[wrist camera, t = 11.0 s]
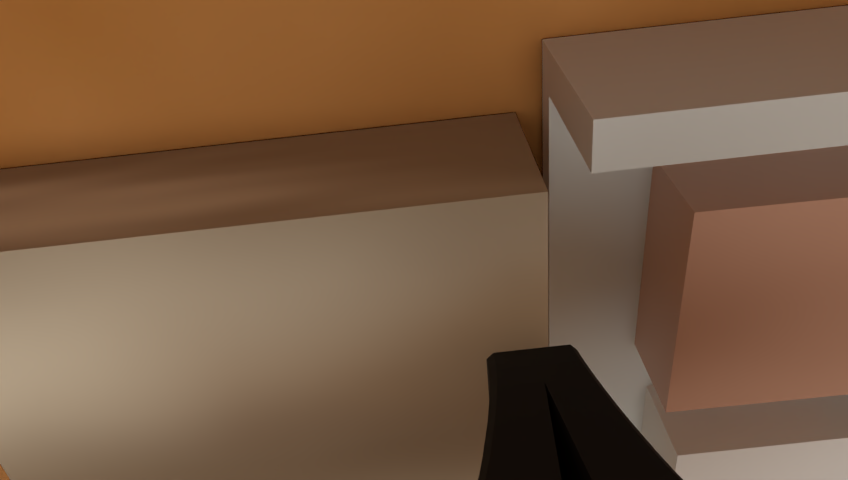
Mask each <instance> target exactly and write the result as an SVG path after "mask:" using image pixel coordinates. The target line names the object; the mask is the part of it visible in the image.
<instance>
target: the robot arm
mask: <svg viewBox="0 0 848 480" xmlns="http://www.w3.org/2000/svg"><path fill="white" fill-rule="evenodd" d="M487 375H488V390H489V410H488V422H487V429H486V436H485V443H484V450H483V457H482V463H481V468H480V473H479V477H478V480H683V479H682V478H681V477H680V476H679V475H678V474H677V473H676V472H675V471H674V470H673V469H672V467H671V466H670V465H669V464H668V463H667V462H666V461H665V460H664V459H663V458H662V457H661V456H660V454H659V453H658V452H657V451H656V450H655V449H654V448H653V447H652V445H651V444H650V443H649V442H648V441H647V440H646V438H645V437H644V436H643V435H642V434H641V433H640V432H639V430H638V429H637V428H636V427H635V426H634V425H633V423H632V422H631V421H630V420H629V419H628V417H627V416H626V415H625V414H624V413H623V411H622V410H621V409H620V408H619V406H618V405H617V404H616V403H615V401H614V400H613V399H612V398H611V396H610V395H609V394H608V392H607V391H606V390H605V389H604V387H603V386H602V385H601V383H600V382H599V381H598V379H597V378H596V377H595V375H594V374H593V372H592V371H591V370H590V368H589V367H588V365H587V364H586V362H585V361H584V360H583V358H582V357H581V355H580V354H579V352H578V350H577V349H576V348H574V347H573V346H572V345H570V344H569V345H560V346H551V347H542V348H533V349H524V350H514V351H505V352H496V353H493V354H492V355H490V356H489V357H488V358H487Z"/></svg>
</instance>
